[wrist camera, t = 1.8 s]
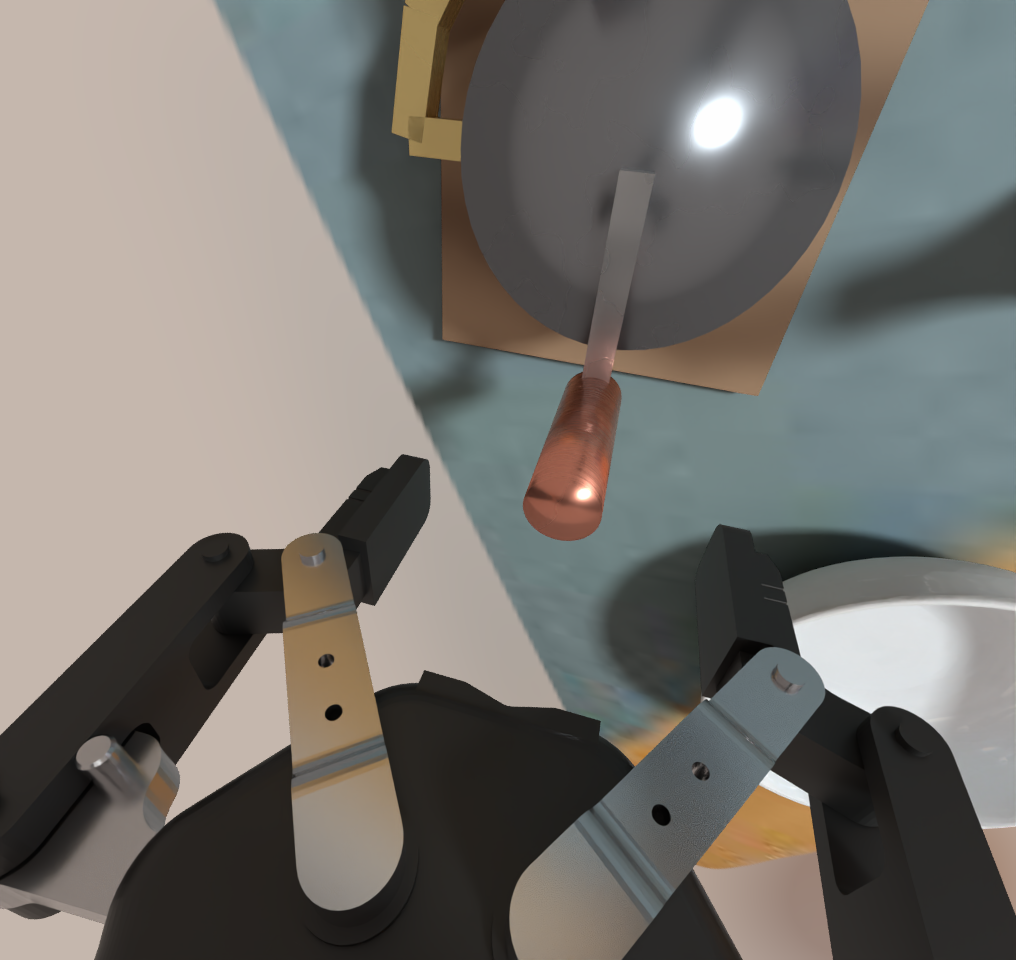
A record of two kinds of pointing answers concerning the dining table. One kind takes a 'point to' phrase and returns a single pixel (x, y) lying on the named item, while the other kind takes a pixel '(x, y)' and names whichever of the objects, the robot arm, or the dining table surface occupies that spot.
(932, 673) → the serving bowl
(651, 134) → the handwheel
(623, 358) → the board
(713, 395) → the dining table surface
